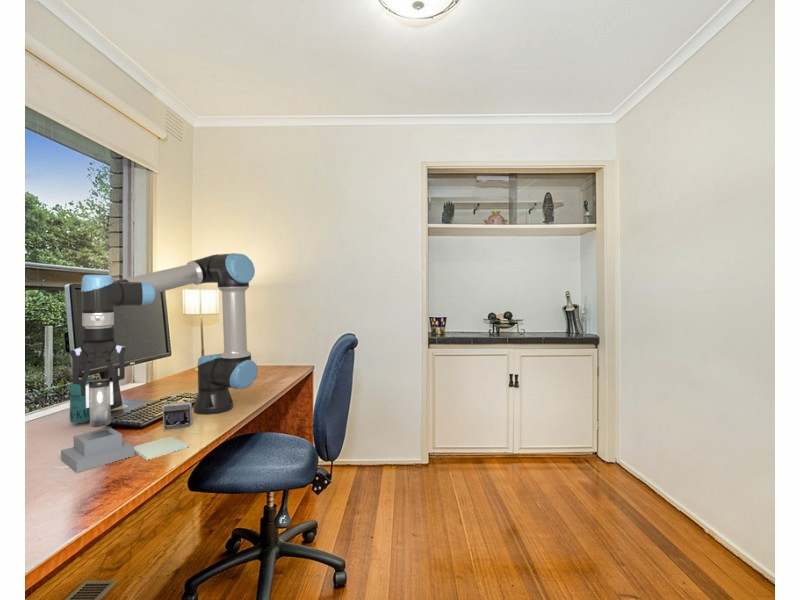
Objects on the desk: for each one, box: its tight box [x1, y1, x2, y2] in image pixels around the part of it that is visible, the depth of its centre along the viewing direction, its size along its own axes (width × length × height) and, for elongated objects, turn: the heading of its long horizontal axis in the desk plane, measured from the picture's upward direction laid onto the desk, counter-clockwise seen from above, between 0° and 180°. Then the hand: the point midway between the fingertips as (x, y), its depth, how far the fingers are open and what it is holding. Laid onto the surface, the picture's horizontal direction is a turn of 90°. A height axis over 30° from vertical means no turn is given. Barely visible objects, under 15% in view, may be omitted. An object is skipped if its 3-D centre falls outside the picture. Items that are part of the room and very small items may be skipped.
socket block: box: [60, 427, 135, 474], centre depth 120 cm, size 14×14×7 cm
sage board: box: [133, 436, 189, 461], centre depth 127 cm, size 12×12×1 cm
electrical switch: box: [161, 401, 193, 431], centre depth 146 cm, size 9×5×9 cm, turn 113°
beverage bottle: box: [69, 376, 90, 424], centre depth 150 cm, size 6×7×20 cm
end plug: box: [89, 378, 112, 428], centre depth 120 cm, size 5×5×13 cm
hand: (100, 404), depth 120 cm, fingers closed on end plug, 5 cm apart
